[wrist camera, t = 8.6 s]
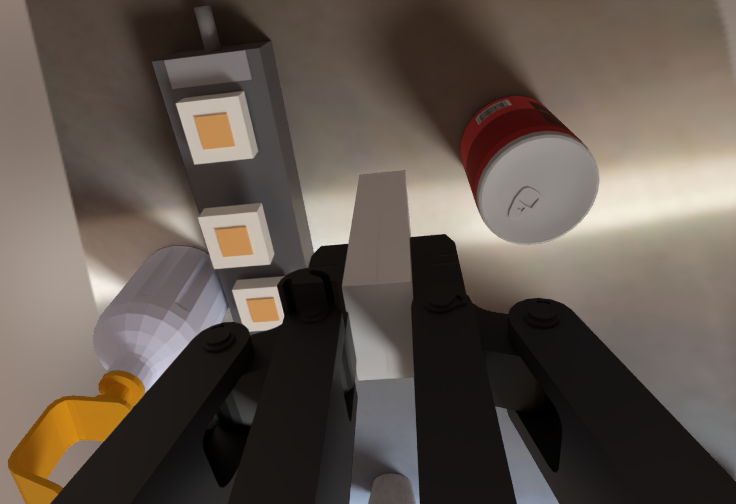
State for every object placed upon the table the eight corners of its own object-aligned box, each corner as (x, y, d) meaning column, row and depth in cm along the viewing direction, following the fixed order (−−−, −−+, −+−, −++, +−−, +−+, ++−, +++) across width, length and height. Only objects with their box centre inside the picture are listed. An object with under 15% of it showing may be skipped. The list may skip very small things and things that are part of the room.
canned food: (445, 171, 44) (460, 229, 34) (481, 80, 40) (508, 117, 31) (527, 195, 45) (563, 259, 35) (570, 108, 41) (624, 153, 31)
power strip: (160, 11, 39) (135, 16, 35) (262, -3, 38) (248, 1, 34) (250, 316, 53) (239, 342, 49) (325, 310, 52) (320, 336, 48)
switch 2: (219, 188, 43) (196, 218, 38) (272, 183, 42) (256, 212, 38) (233, 235, 45) (213, 270, 40) (283, 231, 45) (269, 265, 40)
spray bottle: (237, 320, 53) (134, 561, 32) (151, 315, 53) (-9, 551, 32) (230, 246, 49) (103, 468, 27) (136, 241, 49) (-62, 457, 28)
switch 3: (248, 257, 49) (231, 291, 44) (294, 253, 48) (283, 287, 43) (258, 296, 51) (244, 332, 46) (303, 292, 50) (293, 329, 45)
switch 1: (201, 86, 41) (174, 103, 36) (256, 79, 40) (237, 96, 35) (216, 141, 43) (193, 165, 38) (269, 135, 43) (252, 159, 38)
